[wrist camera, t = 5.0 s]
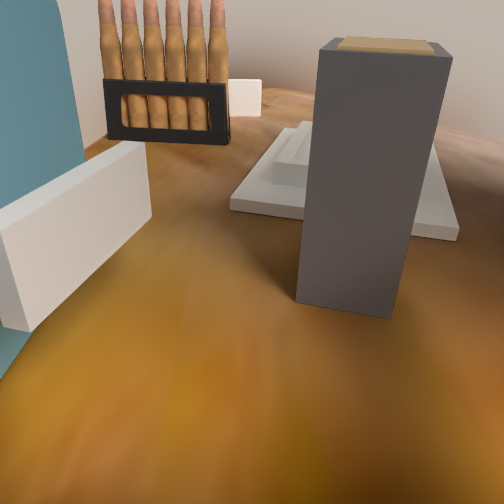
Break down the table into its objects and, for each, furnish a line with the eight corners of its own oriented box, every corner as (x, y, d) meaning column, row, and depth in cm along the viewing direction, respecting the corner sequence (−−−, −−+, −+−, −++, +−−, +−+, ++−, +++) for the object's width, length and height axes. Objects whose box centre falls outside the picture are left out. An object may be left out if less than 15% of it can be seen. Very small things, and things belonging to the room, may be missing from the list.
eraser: (215, 114, 48) (214, 78, 46) (259, 114, 49) (260, 79, 47) (215, 116, 47) (215, 80, 45) (260, 117, 48) (262, 81, 46)
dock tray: (430, 150, 38) (440, 109, 37) (455, 241, 24) (473, 181, 22) (284, 136, 41) (286, 97, 39) (229, 209, 27) (229, 154, 25)
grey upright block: (390, 259, 22) (437, 39, 17) (390, 319, 18) (453, 53, 13) (312, 247, 23) (335, 34, 18) (295, 302, 19) (319, 45, 14)
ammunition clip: (230, 139, 40) (231, -16, 34) (228, 145, 38) (228, -16, 32) (115, 134, 40) (94, -20, 34) (107, 139, 39) (85, -20, 33)
